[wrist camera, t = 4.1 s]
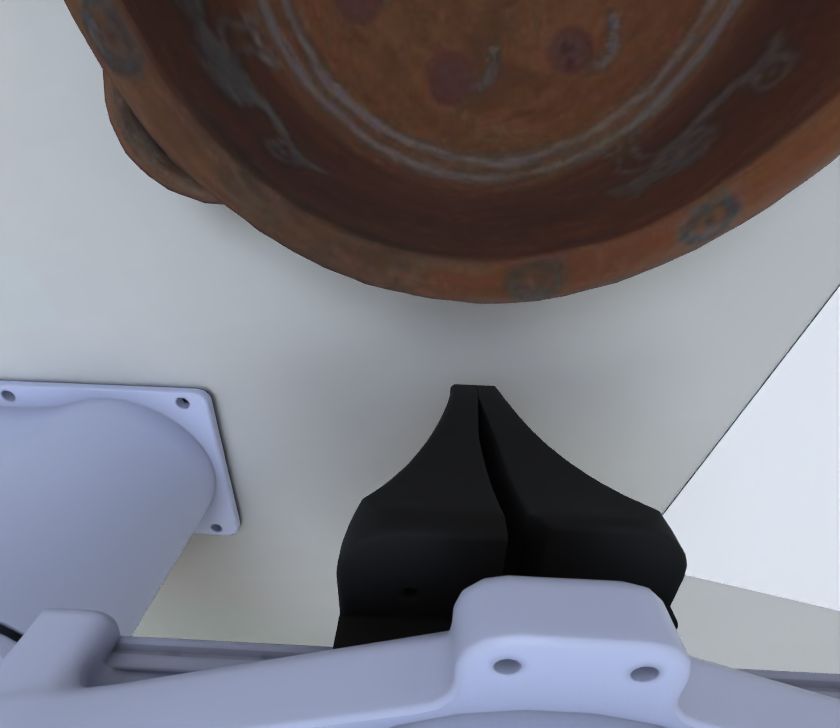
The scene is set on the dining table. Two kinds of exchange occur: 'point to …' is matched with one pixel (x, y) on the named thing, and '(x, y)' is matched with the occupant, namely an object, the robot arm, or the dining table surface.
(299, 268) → the dining table surface
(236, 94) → the dish
